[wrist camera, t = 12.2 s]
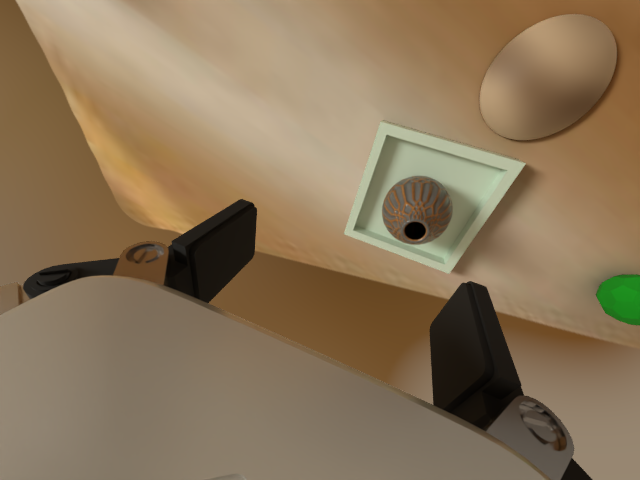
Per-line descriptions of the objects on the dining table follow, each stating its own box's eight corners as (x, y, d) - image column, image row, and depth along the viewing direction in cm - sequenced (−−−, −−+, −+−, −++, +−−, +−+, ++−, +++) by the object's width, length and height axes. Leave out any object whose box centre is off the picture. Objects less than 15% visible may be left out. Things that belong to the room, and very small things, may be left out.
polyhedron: (666, 276, 25) (712, 309, 21) (623, 308, 28) (658, 343, 24) (611, 259, 26) (645, 287, 22) (574, 291, 28) (600, 322, 24)
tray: (383, 120, 27) (380, 121, 25) (518, 159, 24) (525, 163, 23) (347, 227, 34) (343, 234, 33) (447, 264, 32) (449, 273, 30)
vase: (463, 192, 27) (479, 225, 20) (419, 235, 31) (420, 276, 24) (411, 156, 27) (408, 177, 20) (374, 204, 31) (361, 236, 24)
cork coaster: (519, 5, 20) (521, 3, 19) (647, 29, 18) (652, 27, 18) (460, 124, 25) (460, 125, 24) (556, 151, 23) (559, 152, 23)
